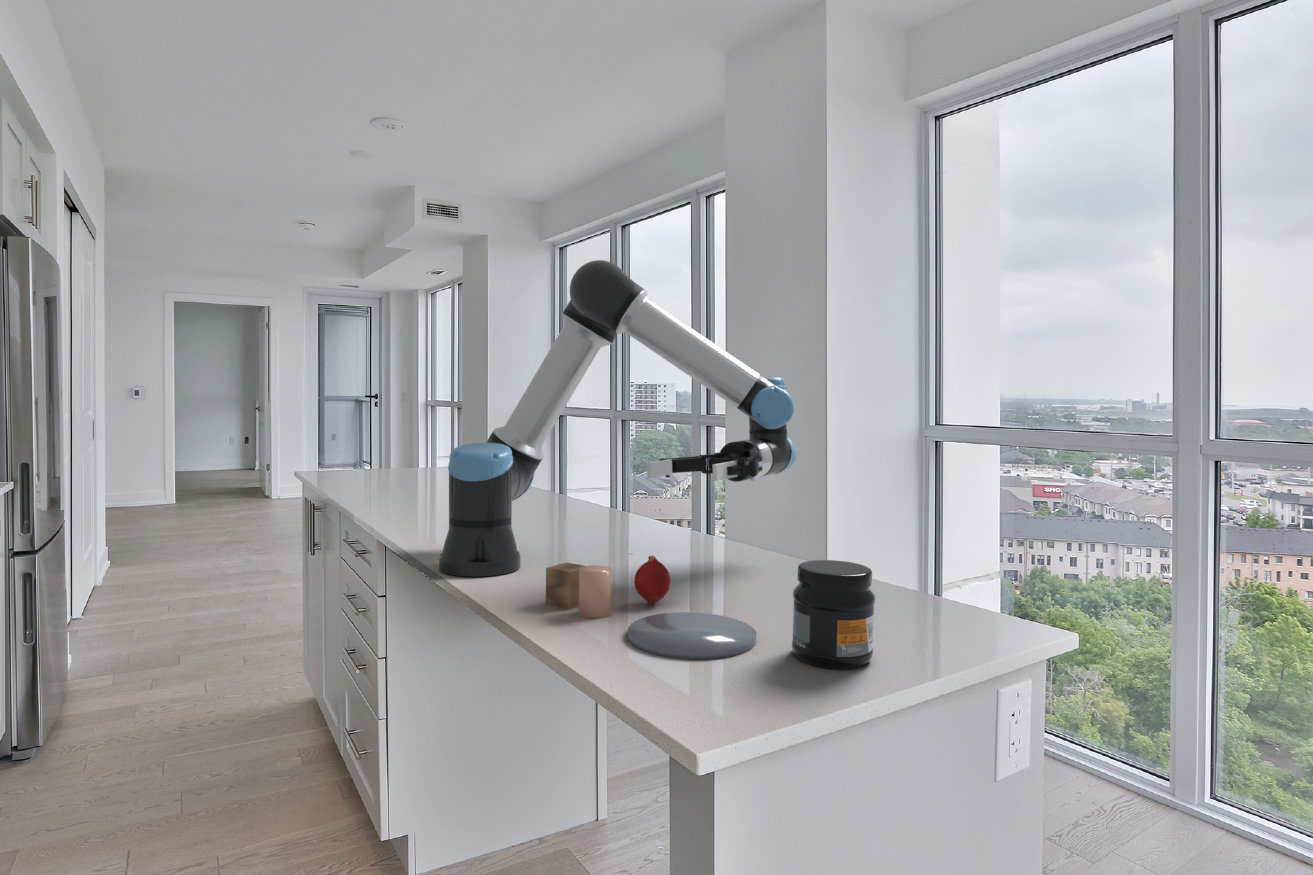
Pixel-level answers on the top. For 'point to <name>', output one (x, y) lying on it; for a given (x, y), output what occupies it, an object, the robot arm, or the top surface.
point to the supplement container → (833, 614)
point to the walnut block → (563, 585)
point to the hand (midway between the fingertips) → (680, 471)
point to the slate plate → (692, 635)
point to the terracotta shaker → (594, 592)
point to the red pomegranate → (652, 580)
